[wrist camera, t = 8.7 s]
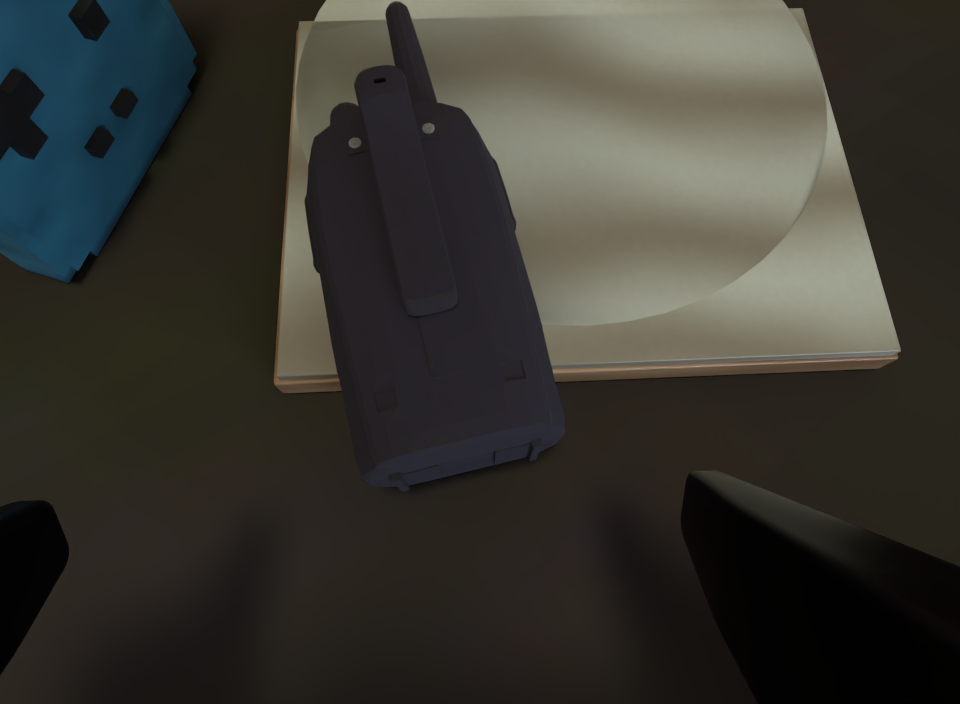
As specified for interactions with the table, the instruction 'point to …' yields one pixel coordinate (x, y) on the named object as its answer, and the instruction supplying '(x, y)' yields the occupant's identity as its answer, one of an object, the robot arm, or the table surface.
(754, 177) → the rounded flat tile
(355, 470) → the table surface
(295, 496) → the table surface
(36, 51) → the handheld gaming console
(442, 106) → the two-way radio
